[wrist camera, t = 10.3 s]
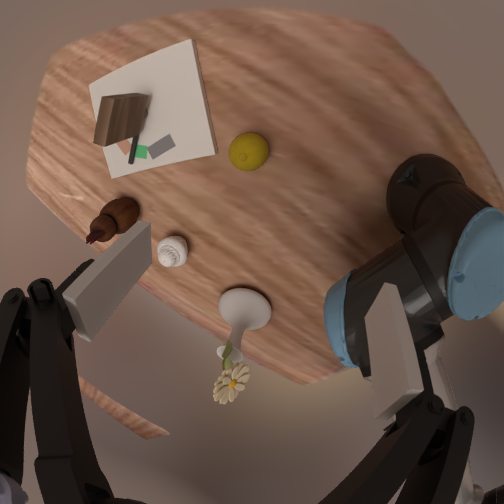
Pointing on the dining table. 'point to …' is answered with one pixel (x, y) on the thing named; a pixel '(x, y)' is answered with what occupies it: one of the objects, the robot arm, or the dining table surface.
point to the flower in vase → (238, 338)
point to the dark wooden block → (121, 120)
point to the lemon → (248, 151)
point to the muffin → (172, 251)
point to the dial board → (161, 109)
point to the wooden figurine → (113, 220)
